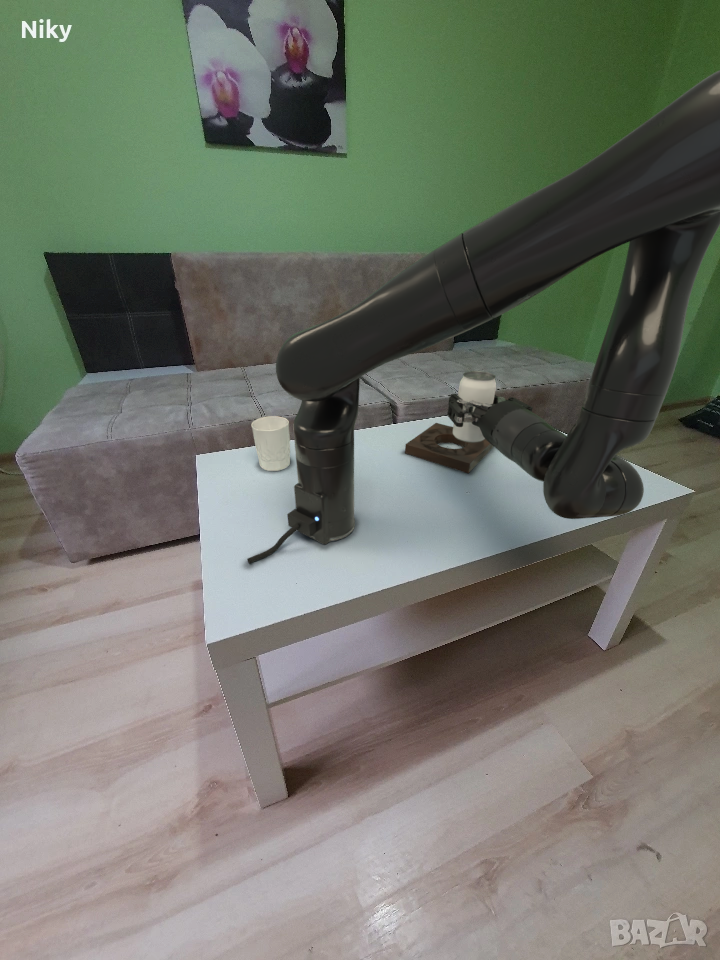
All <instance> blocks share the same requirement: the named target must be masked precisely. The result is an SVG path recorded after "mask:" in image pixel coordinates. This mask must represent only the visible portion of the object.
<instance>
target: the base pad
mask: <svg viewBox="0 0 720 960" xmlns="http://www.w3.org/2000/svg"><path fill="white" fill-rule="evenodd" d="M440 444H454V445H458V446H460V447H461V448H451V447H445V446H441V445H440ZM404 447H405V448H404V449H405V450H404V454H405V455H409V456H412V457H415V458H418V459H421V460H425V461H427V462H431V463H433V464H436V465H440V466H443V467H446V468H450V469H453V470H455V471H459V472H462V473H465V474H470V472H471V471H472V470H473V469H474V468H475V467H476V466H477V465H478V464H480V462H481V461H482V460H483V459H484V458H485V457H486V456H487V455H488V454H489V453H490V452H491V450H492V449H494V448H495V447H494V446H493V445H492V444H490V443H489V442H488V441H487V440H486V439H484V440H483V441H481V442H475V443H471V442H464V441H461V440H458V439H457V438H455V436H454V435H453V426H450V425H447V424H442V423H438V422H435V423H433V424H432V425H431V426H429V427H428V428H426V429H425V430H424V431H422V432H421V433H419V434H418V435H417V436H415V437H414V438H413V439H410V441H408V442H406V443H405V445H404Z"/></svg>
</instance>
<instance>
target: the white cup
mask: <svg viewBox="0 0 720 960" xmlns="http://www.w3.org/2000/svg"><path fill="white" fill-rule="evenodd" d="M250 426H251V432H252V436H253V439H254V440H253V442H254V445H255V449H256V455H257V457H258V463H259V466H260V468H261V469H262V470H265V471H267V472H279V471H282V470H284V469H287V468H288V467H289V466H290V465H291V436H290V435H291V433H290V421H289V419H287V418H286V417H283V416H278V415H270V416H262V417H259V418H256V419H254V420H253V421H252V422H251V424H250Z"/></svg>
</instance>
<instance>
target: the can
mask: <svg viewBox="0 0 720 960" xmlns="http://www.w3.org/2000/svg"><path fill="white" fill-rule="evenodd" d="M496 377H497V376H496V374H494V373H491V372H489V371H483V370H469V371H468V370H467V371H465V372H464V373H463V376H462V378H461V379H460V381H459V385H458V391H457V396H459V397H460V398H461V399H463V400H464V401H467V402H469V401H472V400H473V401H476V402H479V403H483V404H485V403H487V404H493V401H494V396H495V395H496V390H497V383H496ZM475 408H476V407H473V411H474V409H475ZM463 410H465V411H466V407H465V406H463ZM452 427H453V435H454V436H455V438H457V439H458V440H461V441H464V442H471V443H475V442H481V441H483V440H484V439H485V438H484V437H483V435H482V432H481V430H480V428H479V427H478V426H475V425H473V424H472V423H471V422H465V423H463V427H457V426H456V425H455V424H454V423H453V426H452Z"/></svg>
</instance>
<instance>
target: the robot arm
mask: <svg viewBox="0 0 720 960" xmlns="http://www.w3.org/2000/svg"><path fill="white" fill-rule="evenodd" d="M719 228H720V69H719V70H717V71H715V72H713V73H712V74H710V75H709V76H707V77H705V78H704V79H702V80H700V81H699V82H698V83H697V84H695V85H694V86H693V87H691V88H689V89H688V90H687V91H685V92H684V93H682V95H680V96H679V97H677V98H676V99H675V100H673V101H672V102H670V103H669V104H668V105H666V106H665V107H664V108H663V109H661V110H660V111H658V112H657V113H656V114H654V115H653V116H652V117H650V118H648V119H647V120H646V121H644V122H643V123H642V124H640V125H639V126H638V127H636V128H635V129H633V130H632V131H630V132H629V133H628V134H627V135H625V136H624V137H622V138H621V139H619V140H618V141H617V142H615V143H613V144H612V145H611V146H609V147H608V148H606V149H605V150H604V151H602V152H601V153H600V154H598V155H597V156H595V157H594V158H592V159H590V160H589V161H588V162H585V164H583V165H582V166H580V167H578V168H577V169H575V170H573V171H571V172H570V173H569V174H567V175H565V176H563V177H561V178H559V179H558V180H556V181H554V182H552V183H550V184H547V185H546V186H544V187H542V188H540V189H538V190H536V191H534V192H533V193H531V194H529V195H527V196H524V197H523V198H521V199H519V200H517V201H516V202H513V203H512V204H509V205H508V206H507V207H505V208H502V209H501V210H500V211H498V212H496V213H494V214H492V215H490V216H489V217H487V218H486V219H484V220H482V221H479V222H478V223H477V224H475V225H472V226H471V227H469V228H467V229H466V230H464V231H463V232H461V233H459V234H458V235H456V236H454V237H452V238H451V239H449V240H447V241H446V242H445V243H443V244H440V245H439V246H438V247H436V248H435V249H433V250H431V251H430V252H428V253H427V254H425V255H424V256H423V257H422V258H420V259H418V260H417V261H415V262H414V263H412V264H410V265H409V266H408V267H406V268H405V269H404V270H402V271H401V272H399V273H398V274H396V275H395V276H394V277H393V278H391V279H389V280H388V281H387V282H386V283H384V284H383V285H382V286H380V287H379V288H378V289H377V290H375V291H374V292H372V293H371V294H370V295H368V296H367V297H366V298H365V299H363V300H362V301H361V302H359V303H358V304H356V305H354V306H353V307H351V308H349V309H348V310H346V311H344V312H342V313H341V314H338V315H337V316H334V317H331V318H330V319H328V320H326V321H323V322H321V323H318V324H315V325H313V326H309V327H307V328H305V329H302V330H299V331H298V332H295V333H294V334H292V335H290V336H289V337H288V338H287V339H286V340H285V341H284V343H283V344H282V345H281V347H280V349H279V351H278V353H277V356H276V361H275V374H276V378H277V381H278V384H279V385H280V387H281V388H282V389H283V390H284V391H285V392H286V393H287V394H288V395H289V396H291V397H293V398H294V399H297V400H300V402H301V403H300V406H299V409H298V411H297V414H296V416H295V418H294V420H293V426H292V428H293V430H292V431H293V439H294V440H293V441H294V451H295V463H296V472H297V473H296V474H297V483H296V484H294V486H293V491H294V500H295V501H294V502H295V508H294V509H292V510H291V511H289V512H288V513H287V514H286V515H287V524H288V527H290V528H289V529H288V530H287V531H286V532H285V533H283V534H282V536H280V537H279V539H278V540H277V542H276V543H275V544H274V545H273V546H271V547H270V548H268V549H267V550H265V551H262V552H260V553H257V554H255V555H252V556H250V557H248V558H247V562H248V564H249V565H250V564H252V563H254V562H257V561H259V560H262V559H265V558H267V557H269V556H270V555H272V554H274V553H276V552H277V551H278V550H279V549H280V548H281V547H282V545H283V544H284V542H285V541H286V540H288V539H289V537H291V536H292V535H293V534H294V533H296V532H299V533H300V534H302V535H304V536H306V537H308V538H309V539H312V540H314V541H316V542H318V543H319V544H322V545H327V544H328V543H330V542H335V541H339V540H342V539H344V538H346V537H348V536H349V535H351V533H353V531H354V529H355V526H356V518H355V427H356V422H357V420H358V414H359V409H360V407H359V405H360V383H361V382H360V381H361V377H364V376H365V375H366V374H368V373H370V372H371V371H374V370H376V369H377V368H379V367H381V366H383V365H385V364H388V363H390V362H393V361H395V360H398V359H401V358H403V357H406V356H410V355H411V354H414V353H417V352H419V351H423V350H425V349H427V348H430V347H433V346H435V345H437V344H440V343H443V342H444V341H447V340H449V339H451V338H454V337H457V336H459V335H461V334H464V333H466V332H468V331H470V330H473V329H474V328H477V327H478V326H481V325H483V324H485V323H487V322H489V321H492V320H493V319H496V318H497V317H499V316H502V315H503V314H505V313H507V312H509V311H510V310H512V309H514V308H516V307H518V306H520V305H522V304H523V303H525V302H527V301H529V300H531V299H532V298H533V297H535V296H537V295H539V294H540V293H542V292H544V291H545V290H546V289H548V288H550V287H551V286H553V285H554V284H556V283H557V282H558V281H560V280H562V279H563V278H565V277H566V276H568V275H569V274H571V273H573V272H574V271H575V270H577V269H578V268H580V267H582V266H584V265H585V264H586V263H588V262H591V261H592V260H594V259H595V258H597V257H599V256H601V255H603V254H605V253H608V252H610V251H611V250H613V249H616V248H618V247H620V246H622V245H625V244H627V243H628V249H627V252H626V253H627V254H626V258H625V263H624V268H623V272H622V277H621V281H620V285H619V289H618V292H617V295H616V296H617V297H616V298H615V299H616V300H615V303H614V307H613V310H612V313H611V316H610V319H609V322H608V325H607V328H606V331H605V334H604V337H603V340H602V343H601V346H600V349H599V352H598V355H597V358H596V361H595V363H594V364H595V365H594V367H593V370H592V373H591V377H590V379H589V383H588V384H587V385H588V386H587V389H586V392H585V394H584V395H585V396H584V398H583V401H582V405H581V409H580V412H579V416H578V418H577V420H576V422H575V423H574V425H572V428H571V429H570V430H569V432H568V433H567V435H566V434H564V433H563V432H562V431H560V430H559V429H557V428H555V427H554V426H552V425H550V424H549V423H548V422H547V421H546V420H545V419H544V418H542V417H541V416H539V415H538V414H536V413H534V412H533V409H534V407H533V406H531V405H529V404H527V403H525V402H523V401H521V400H519V398H516V397H513V396H510V397H508V398H507V399H505V397H504V396H497V395H496V394H495V396H494V401H493V404H487V403H485V404H483V403H479V402H476V401H473V400H472V401H469V402H467V401H464V400H463V399H461V398H460V397H459V396H458V394H456V393H451V394H450V396H449V397H448V406H447V407H448V408H447V412H446V416H447V417H448V418H449V420H450V421H451V423H453V425H454V424H455V425H456V426H457V427H463V423H465V422H471V423H472V424H473V425H475V426H478V427H479V428H480V430H481V432H482V435H483V437H484V438H485V439H486V440H487V441H488V442H489V443H490V444H492V445H493V446H494V447H493V448H495V449H496V450H497V451H498V452H499V453H500V454H502V455H503V456H504V457H505V458H506V459H508V460H510V461H511V462H513V463H515V464H516V465H517V466H518V467H519V468H521V469H522V470H523V471H524V472H525V473H527V475H528V476H530V477H531V478H533V479H534V480H537V481H540V482H543V483H542V484H543V485H542V491H543V497H544V498H543V499H544V501H545V504H546V505H547V507H548V509H549V510H550V511H551V512H552V513H553V514H554V515H556V516H558V517H561V518H563V519H570V520H579V519H580V520H581V519H593V518H594V519H595V518H609V517H618V516H619V517H620V516H623V515H626V514H628V513H630V512H632V511H634V510H635V509H637V507H638V506H639V505H640V503H641V502H642V500H643V498H644V494H645V493H644V492H645V487H644V481H643V480H642V476H640V473H639V471H638V470H637V469H636V468H635V467H634V466H633V465H632V464H631V463H630V462H628V460H626V459H624V458H623V457H621V456H619V455H617V454H619V453H620V452H622V451H624V450H626V449H629V448H632V447H635V446H637V445H640V444H642V443H644V442H645V441H646V440H647V439H648V437H649V436H650V434H651V432H652V431H653V428H654V426H655V423H656V421H657V419H658V416H659V413H660V411H661V409H662V406H663V403H664V401H665V398H666V395H667V393H668V390H669V387H670V385H671V382H672V379H673V377H674V374H675V370H676V367H677V363H678V359H679V357H680V356H679V355H680V351H681V346H682V341H683V336H684V328H685V322H686V317H687V311H688V306H689V302H690V298H691V295H692V291H693V287H694V285H695V281H696V278H697V276H698V273H699V270H700V268H701V265H702V262H703V260H704V258H705V256H706V253H707V251H708V249H709V247H710V244H711V243H712V241H713V239H714V237H715V235H716V233H717V232H718V230H719ZM463 406H465V407H466V411H465V410H463ZM473 407H476V408H475V409H474V411H473Z"/></svg>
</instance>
